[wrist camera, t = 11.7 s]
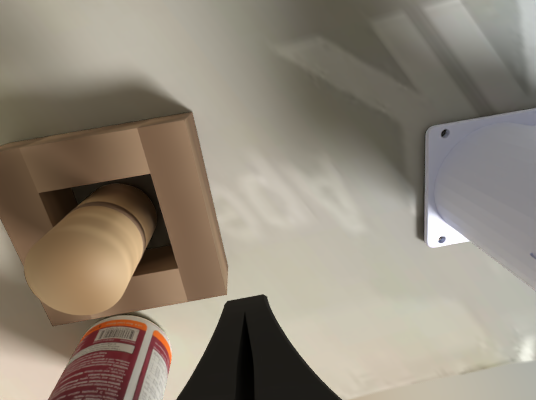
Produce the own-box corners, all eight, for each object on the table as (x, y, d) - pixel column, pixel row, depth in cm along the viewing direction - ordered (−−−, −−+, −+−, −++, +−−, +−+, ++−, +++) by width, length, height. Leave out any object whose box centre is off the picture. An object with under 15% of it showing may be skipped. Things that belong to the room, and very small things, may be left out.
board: (192, 111, 19) (184, 120, 16) (227, 266, 23) (226, 294, 20) (9, 142, 19) (-30, 156, 16) (75, 294, 23) (52, 326, 20)
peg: (151, 172, 20) (111, 224, 14) (167, 234, 22) (138, 307, 15) (81, 183, 20) (7, 239, 14) (102, 244, 22) (44, 322, 15)
